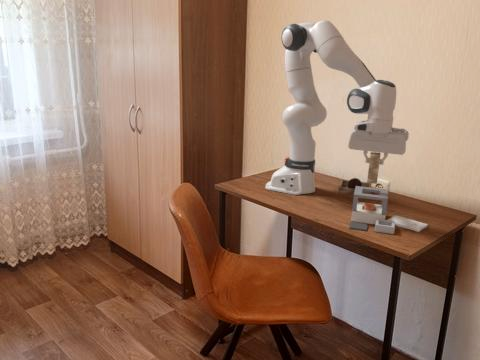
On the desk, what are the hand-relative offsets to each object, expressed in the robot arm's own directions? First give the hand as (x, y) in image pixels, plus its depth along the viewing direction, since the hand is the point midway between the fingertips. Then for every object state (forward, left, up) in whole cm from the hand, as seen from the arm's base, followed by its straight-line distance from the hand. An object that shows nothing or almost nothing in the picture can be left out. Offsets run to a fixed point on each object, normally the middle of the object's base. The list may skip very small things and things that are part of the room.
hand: (374, 163), depth 172 cm
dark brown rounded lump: (-9, +34, -22) cm, 41 cm away
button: (0, 0, -20) cm, 20 cm away
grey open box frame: (0, 0, -22) cm, 22 cm away
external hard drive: (+14, -1, -22) cm, 27 cm away
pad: (-3, -11, -22) cm, 24 cm away
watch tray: (-7, +36, -22) cm, 42 cm away
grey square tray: (+6, -10, -22) cm, 25 cm away
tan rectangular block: (0, 0, -7) cm, 7 cm away
